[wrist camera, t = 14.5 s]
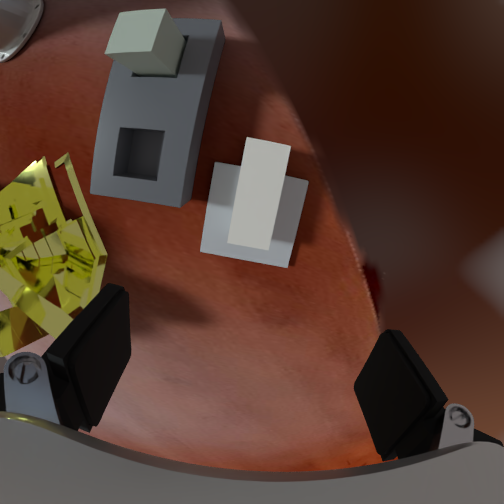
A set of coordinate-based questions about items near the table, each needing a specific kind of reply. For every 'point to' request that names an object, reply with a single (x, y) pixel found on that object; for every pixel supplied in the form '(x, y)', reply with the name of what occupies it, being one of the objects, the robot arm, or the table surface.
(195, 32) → the plate
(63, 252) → the crystal
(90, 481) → the robot arm
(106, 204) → the table surface
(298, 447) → the table surface
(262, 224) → the white plug
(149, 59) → the sage plug
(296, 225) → the mat
